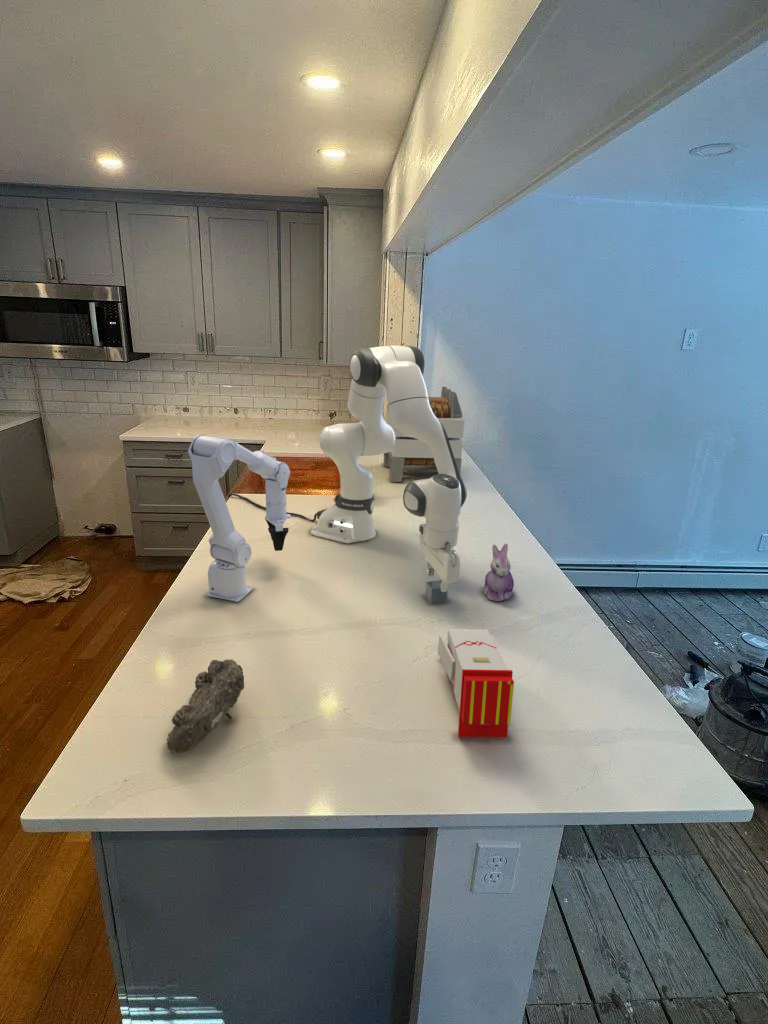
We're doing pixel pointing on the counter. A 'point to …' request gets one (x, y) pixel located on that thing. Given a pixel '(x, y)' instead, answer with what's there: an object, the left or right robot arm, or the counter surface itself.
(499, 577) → the figurine
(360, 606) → the counter surface
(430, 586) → the block
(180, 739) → the fossil
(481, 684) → the toy
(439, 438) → the right robot arm
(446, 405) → the transformer
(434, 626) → the counter surface
